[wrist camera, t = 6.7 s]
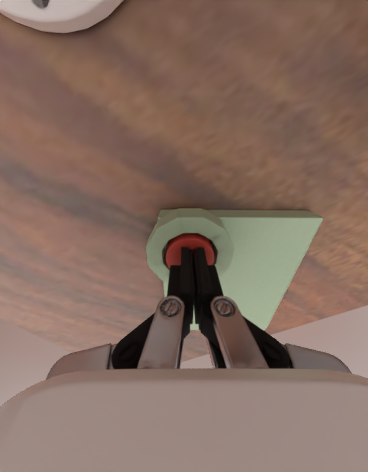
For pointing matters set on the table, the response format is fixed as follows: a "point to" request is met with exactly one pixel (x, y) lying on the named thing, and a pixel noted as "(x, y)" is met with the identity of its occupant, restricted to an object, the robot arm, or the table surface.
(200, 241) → the button
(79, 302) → the table surface
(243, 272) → the scale
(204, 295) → the robot arm
